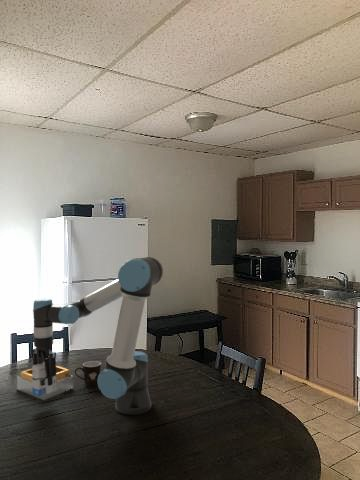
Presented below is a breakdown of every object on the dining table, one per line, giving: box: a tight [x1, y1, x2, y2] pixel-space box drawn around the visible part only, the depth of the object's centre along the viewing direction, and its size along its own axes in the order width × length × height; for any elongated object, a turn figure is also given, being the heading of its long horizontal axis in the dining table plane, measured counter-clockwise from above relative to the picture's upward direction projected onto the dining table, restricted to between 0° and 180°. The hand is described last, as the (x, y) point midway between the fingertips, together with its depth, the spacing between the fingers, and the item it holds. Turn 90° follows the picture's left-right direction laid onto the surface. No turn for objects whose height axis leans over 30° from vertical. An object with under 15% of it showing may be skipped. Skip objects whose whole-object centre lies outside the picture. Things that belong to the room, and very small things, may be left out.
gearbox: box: [16, 365, 74, 401], centre depth 186 cm, size 24×16×8 cm, turn 55°
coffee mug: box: [74, 360, 102, 388], centre depth 191 cm, size 12×9×10 cm
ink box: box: [31, 362, 56, 396], centre depth 166 cm, size 8×5×12 cm, turn 143°
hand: (44, 391), depth 166 cm, fingers closed on ink box, 5 cm apart
